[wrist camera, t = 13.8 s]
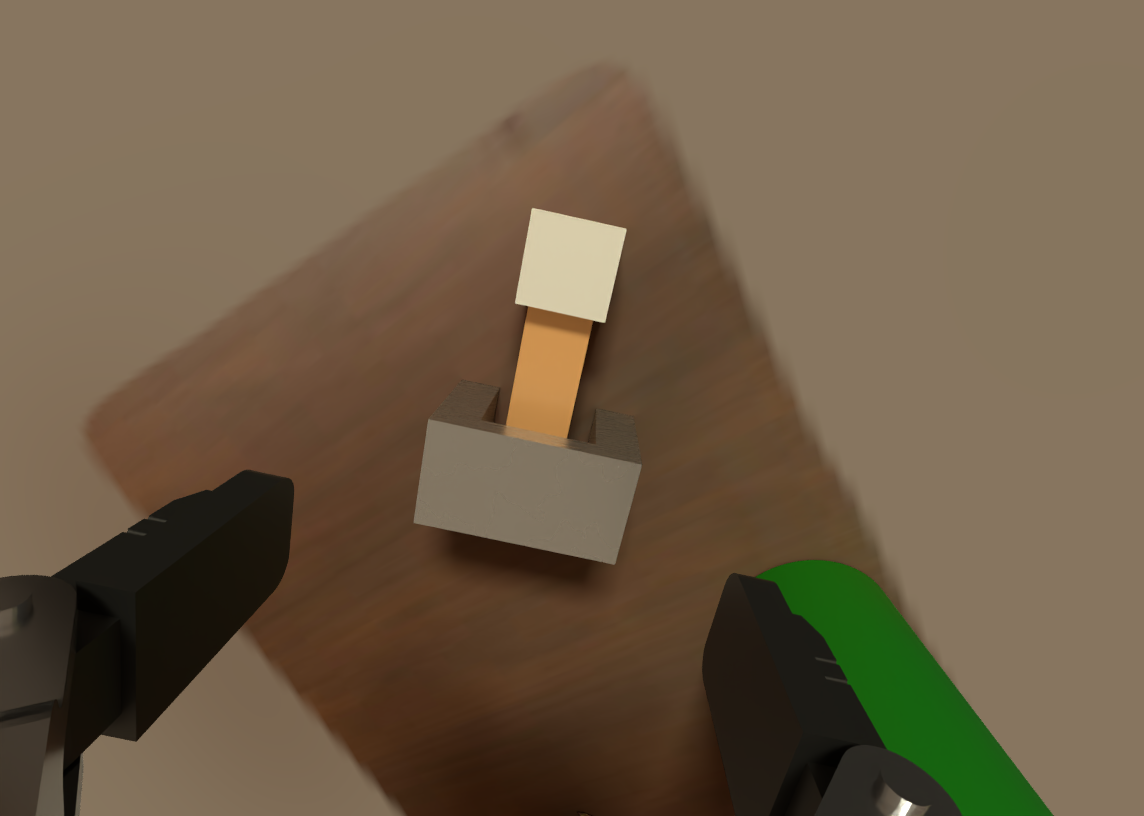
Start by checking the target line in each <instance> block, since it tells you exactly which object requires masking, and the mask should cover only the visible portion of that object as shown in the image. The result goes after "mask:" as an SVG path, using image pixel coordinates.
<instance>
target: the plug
mask: <svg viewBox="0 0 1144 816" xmlns="http://www.w3.org/2000/svg"><path fill="white" fill-rule="evenodd" d="M626 230H627V229H625V228H620V227H616V226H612V225H607V224H603V223H598V222H594V221H589V220H585V219H580V218H576V217H571V216H567V215H562V214H558V213H553V212H549V211H544V210H540V209H535V208H532V212H531V218H530V223H529V229H528V234H527V240H526V245H525V251H524V256H523V262H522V268H521V273H520V279H519V284H518V290H517V295H516V301H515V303H516V304H521V305H525V306H528V310H527V316H526V321H525V326H524V332H523V337H522V342H521V348H520V353H519V358H518V364H517V369H516V374H515V380H514V385H513V390H512V396H511V401H510V406H509V412H508V417H507V422H506V425H507V426H511V427H516V428H521V429H525V430H530V431H535V432H540V433H544V434H549V435H554V436H558V437H563V438H567V435H568V431H569V426H570V422H571V417H572V413H573V408H574V404H575V399H576V395H577V390H578V386H579V381H580V377H581V373H582V368H583V364H584V359H585V355H586V350H587V346H588V341H589V337H590V332H591V328H592V323H593V320H594V321H598V322H603V323H605V321H606V316H607V312H608V308H609V303H610V299H611V295H612V290H613V286H614V282H615V277H616V273H617V269H618V264H619V260H620V256H621V251H622V247H623V243H624V238H625V234H626Z"/></svg>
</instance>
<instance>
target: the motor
mask: <svg viewBox="0 0 1144 816" xmlns="http://www.w3.org/2000/svg"><path fill="white" fill-rule="evenodd" d="M755 578H760V579H765V580H770V581H774V582H775V583H776V584H777V585H778V587H779V589H780V591H781V593H782V594H783V596H784V598H785V600H786V602H787V604H788V606H789V608H790V610H791V612H792V614H796V615H801V616H802V617H803V618H804V619H805V620H806V621H807V622H808V623H809V624H810V625H812V626H813V627H814V628H815V629H816V630H817V631H818V632H819V633H820V634H821V635H822V636H823V637H824V639H825V640H826V642H827V644H828V646H829V648H830V649H831V651H832V653H833V655H834V656H835V658H836V660H837V661H836V664H837V665H840V667H841V669H842V671H843V672H844V674H845V676H846V678H847V679H848V680H847V684H849V685H851V686H852V688H853V690H854V692H855V694H856V695H857V697H858V699H859V701H860V702H861V704H862V706H863V708H864V709H865V711H866V713H867V715H868V717H869V718H870V720H871V722H872V724H873V725H874V727H875V729H876V731H877V732H878V734H879V736H880V738H881V740H882V741H883V743H884V745H885V747H886V748H887V750H889V751H892V752H894V753H896V754H898V755H900V756H902V757H904V758H906V759H908V760H909V761H911V762H913V763H914V764H915V765H917V766H918V767H920V768H921V769H923V770H924V771H925V772H926V773H928V774H929V775H930V776H931V777H932V778H933V779H934V780H936V781H937V782H938V783H939V784H940V785H941V786H942V787H943V789H944V790H945V791H946V792H947V793H948V794H949V795H950V797H951V798H952V799H953V801H954V802H955V804H956V805H957V807H958V809H959V810H960V812H961V814H962V816H1054V815H1053V814H1052V813H1051V812H1050V810H1049V809H1048V808H1047V806H1046V805H1045V804H1044V802H1043V801H1042V800H1041V798H1040V797H1039V796H1038V794H1037V793H1036V792H1035V791H1034V789H1033V788H1032V787H1031V785H1030V784H1029V783H1028V781H1027V780H1026V779H1025V777H1024V776H1023V775H1022V773H1021V772H1020V771H1019V769H1018V768H1017V767H1016V765H1015V764H1014V763H1013V762H1012V760H1011V759H1010V758H1009V756H1008V755H1007V754H1006V752H1005V751H1004V750H1003V748H1002V747H1001V746H1000V744H999V743H998V742H997V740H996V739H995V738H994V737H993V735H992V734H991V733H990V731H989V730H988V729H987V727H986V726H985V725H984V723H983V722H982V721H981V719H980V718H979V717H978V715H977V714H976V713H975V712H974V710H973V709H972V708H971V706H970V705H969V704H968V702H967V701H966V700H965V698H964V697H963V696H962V694H961V693H960V692H959V690H958V689H957V688H956V686H955V685H954V684H953V683H952V681H951V680H950V679H949V677H948V676H947V675H946V673H945V672H944V671H943V669H942V668H941V667H940V665H939V664H938V663H937V661H936V660H935V659H934V658H933V656H932V655H931V654H930V652H929V651H928V650H927V648H926V647H925V646H924V644H923V643H922V642H921V640H920V639H919V638H918V636H917V635H916V634H915V632H914V631H913V630H912V629H911V627H910V626H909V625H908V623H907V622H906V621H905V619H904V618H903V617H902V615H901V614H900V613H899V611H898V610H897V609H896V607H895V606H894V605H893V604H892V602H891V601H890V600H889V598H888V597H887V596H886V594H885V593H884V592H883V590H882V589H881V588H880V587H879V586H878V585H877V584H876V583H875V582H874V581H873V580H872V579H871V578H870V577H868V576H867V575H865V574H864V573H862V572H861V571H859V570H857V569H855V568H852V567H850V566H847V565H844V564H841V563H836V562H831V561H823V560H806V561H797V562H792V563H788V564H784V565H781V566H778V567H775V568H772V569H770V570H768V571H766V572H764V573H762V574H760V575H758V576H757V577H755Z"/></svg>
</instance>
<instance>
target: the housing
mask: <svg viewBox="0 0 1144 816" xmlns="http://www.w3.org/2000/svg"><path fill="white" fill-rule="evenodd" d="M498 393H499V388H498V387H493V386H489V385H484V384H480V383H475V382H470V381H466V380H461V382H460V383H459V384H458V385H457V386H456V387H455V389H454V390H453V391H452V392H451V393H450V394H449V396H448V397H447V398H446V399H445V400H444V402H443V403H442V404H441V405H440V406H439V407H438V409H437V410H436V411H435V412H434V413H433V414H432V416H431V417H430V418H429V419H428V425H427V432H426V439H425V446H424V453H423V460H422V467H421V474H420V481H419V488H418V495H417V502H416V509H415V516H414V523H417V524H422V525H427V526H432V527H437V528H441V529H446V530H451V531H456V532H461V533H465V534H470V535H475V536H480V537H484V538H489V539H494V540H499V541H504V542H508V543H513V544H518V545H523V546H528V547H532V548H537V549H542V550H547V551H552V552H556V553H561V554H566V555H571V556H576V557H580V558H585V559H590V560H595V561H600V562H604V563H609V564H614V565H615V562H616V559H617V555H618V551H619V548H620V544H621V540H622V537H623V533H624V529H625V526H626V522H627V518H628V515H629V511H630V507H631V504H632V500H633V496H634V493H635V489H636V485H637V481H638V478H639V474H640V470H641V467H642V462H641V456H640V451H639V445H638V440H637V434H636V429H635V423H634V418H633V416H628V415H624V414H619V413H614V412H610V411H605V410H600V409H596V412H595V416H594V420H593V424H592V429H591V433H590V437H589V441H588V443H586V442H582V441H577V440H572V439H568V438H563V437H558V436H554V435H549V434H544V433H540V432H535V431H530V430H525V429H521V428H516V427H511V426H507V425H502V424H497V423H493V421H494V416H495V410H496V404H497V399H498Z"/></svg>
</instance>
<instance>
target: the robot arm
mask: <svg viewBox="0 0 1144 816" xmlns="http://www.w3.org/2000/svg"><path fill="white" fill-rule="evenodd" d="M293 500H294V485H293V482H292V480H291V479H289V478H285V477H281V476H276V475H271V474H266V473H262V472H257V471H252V470H244V471H242V472H240V473H239V474H237V475H236V476H234V477H232V478H231V479H229V480H228V481H226V482H225V483H223V484H222V485H220V486H219V487H217V488H216V489H214V490H213V491H210V490H204V491H201V492H198V493H195V494H192V495H189V496H186V497H183V498H179V499H176V500H174V501H172V502H170V503H169V504H167V505H165V506H164V507H162V508H161V509H159V510H157V511H156V512H154V513H153V514H151V515H149V518H148V519H143V520H141V521H140V522H138V523H136V524H135V525H133V526H132V527H130V528H128V531H127V533H124V532H122V533H120V534H119V535H117V536H115V537H114V538H112V539H111V540H109V541H107V542H106V543H105V544H103V545H101V546H99V547H98V548H96V549H95V550H93V551H92V552H90V553H88V554H86V555H85V556H83V557H82V558H80V559H79V560H77V561H75V562H74V563H72V564H70V565H69V566H67V567H66V568H64V569H62V570H61V571H59V572H57V573H56V574H54V575H53V576H51V577H50V576H42V575H18V576H8V577H2V578H0V816H79V813H80V802H81V790H82V779H83V752H84V751H85V749H87V748H88V747H89V746H90V745H91V744H92V743H93V742H94V741H95V740H96V739H97V738H98V737H99V736H100V735H106V736H111V737H116V738H121V739H125V740H131V741H137V740H138V739H139V738H140V737H141V736H142V735H143V734H144V733H145V732H146V730H147V729H148V728H149V727H150V726H151V725H152V724H153V723H154V722H155V721H156V720H157V718H158V717H159V716H160V715H161V714H162V713H163V712H164V711H165V710H166V709H167V708H168V706H169V705H170V704H171V703H172V702H173V701H174V700H175V699H176V698H177V697H178V696H179V694H180V693H181V692H182V691H183V690H184V689H185V688H186V687H187V686H188V685H189V683H190V682H191V681H192V680H193V679H194V678H195V677H196V676H197V675H198V674H199V672H201V670H202V669H203V668H204V667H205V666H206V665H207V664H208V663H209V662H210V661H211V659H212V658H213V657H214V656H215V655H216V654H217V653H218V652H219V651H220V650H221V649H222V647H223V646H224V645H225V644H226V643H227V642H228V641H229V640H230V638H231V637H232V636H233V635H234V634H235V633H236V632H237V631H238V630H239V629H240V628H241V627H242V626H243V624H244V623H245V622H246V621H247V620H248V619H249V618H250V617H251V616H252V615H253V614H254V612H255V611H256V610H257V609H258V608H259V607H260V606H261V605H262V604H263V603H264V602H265V600H266V599H267V598H268V597H269V596H270V595H271V594H272V593H273V592H274V590H275V589H276V588H277V586H278V585H279V583H280V581H281V579H282V577H283V575H284V572H285V570H286V567H287V563H288V559H289V550H290V538H291V525H292V513H293ZM836 661H837V660H836V658H835V656H834V655H833V653H832V651H831V649H830V648H829V646H828V644H827V642H826V640H825V639H824V637H823V636H822V635H821V634H820V633H819V632H818V631H817V630H816V629H815V628H814V627H813V626H812V625H810V624H809V623H808V622H807V621H806V620H805V619H804V618H803V617H802V616H801V615H796V614H792V612H791V610H790V608H789V606H788V604H787V602H786V600H785V598H784V596H783V594H782V593H781V591H780V589H779V587H778V585H777V584H776V583H775V582H774V581H770V580H765V579H760V578H755V577H751V576H746V575H741V574H736V573H733V574H731V575H730V576H729V578H728V579H727V581H726V584H725V586H724V589H723V592H722V595H721V598H720V601H719V604H718V607H717V611H716V614H715V617H714V620H713V623H712V626H711V629H710V632H709V635H708V638H707V641H706V644H705V648H704V654H703V664H702V672H703V681H704V686H705V690H706V694H707V698H708V702H709V707H710V711H711V715H712V719H713V723H714V728H715V732H716V736H717V740H718V744H719V749H720V753H721V757H722V761H723V765H724V770H725V774H726V778H727V782H728V786H729V791H730V795H731V799H732V803H733V807H734V811H735V816H962V814H961V812H960V810H959V809H958V807H957V805H956V804H955V802H954V801H953V799H952V798H951V797H950V795H949V794H948V793H947V792H946V791H945V790H944V789H943V787H942V786H941V785H940V784H939V783H938V782H937V781H936V780H934V779H933V778H932V777H931V776H930V775H929V774H928V773H926V772H925V771H924V770H923V769H921V768H920V767H918V766H917V765H915V764H914V763H913V762H911V761H909V760H908V759H906V758H904V757H902V756H900V755H898V754H896V753H894V752H892V751H889V750H887V748H886V747H885V745H884V743H883V741H882V740H881V738H880V736H879V734H878V732H877V731H876V729H875V727H874V725H873V724H872V722H871V720H870V718H869V717H868V715H867V713H866V711H865V709H864V708H863V706H862V704H861V702H860V701H859V699H858V697H857V695H856V694H855V692H854V690H853V688H852V686H851V685H849V684H847V680H848V679H847V678H846V676H845V674H844V672H843V671H842V669H841V667H840V665H837V664H836Z"/></svg>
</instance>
